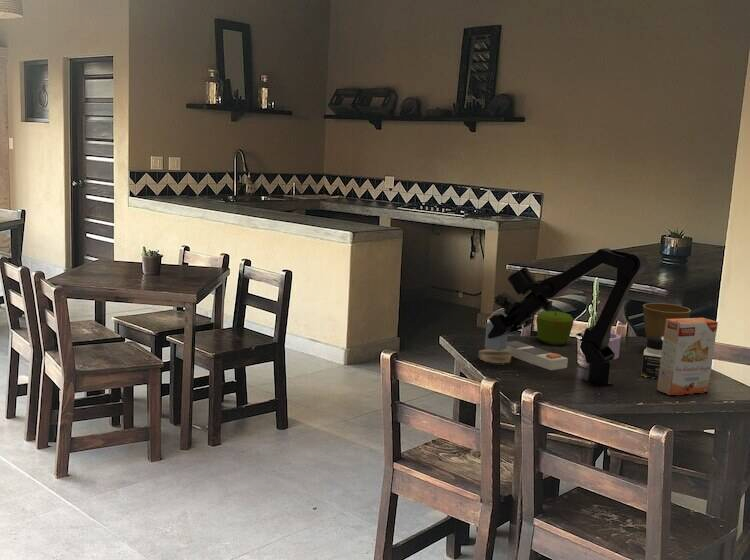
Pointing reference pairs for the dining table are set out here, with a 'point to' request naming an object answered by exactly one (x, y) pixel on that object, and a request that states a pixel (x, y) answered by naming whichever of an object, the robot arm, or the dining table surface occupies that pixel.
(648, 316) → the plant pot
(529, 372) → the dining table surface
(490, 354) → the trivet
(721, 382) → the dining table surface
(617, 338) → the clip
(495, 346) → the grey cylinder
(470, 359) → the dining table surface
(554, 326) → the apple
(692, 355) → the cracker box
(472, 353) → the dining table surface
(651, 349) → the medicine bottle
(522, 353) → the power strip
